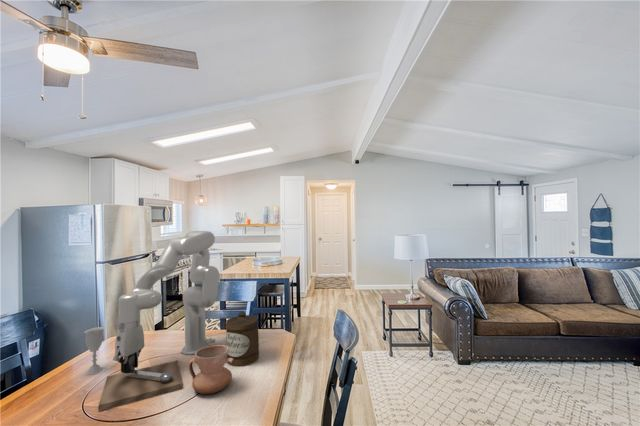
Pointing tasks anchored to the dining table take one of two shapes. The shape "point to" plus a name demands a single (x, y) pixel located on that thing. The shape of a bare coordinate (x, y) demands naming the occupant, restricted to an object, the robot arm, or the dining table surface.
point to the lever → (146, 375)
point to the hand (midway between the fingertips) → (129, 369)
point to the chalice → (94, 346)
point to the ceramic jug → (211, 369)
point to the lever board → (138, 386)
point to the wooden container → (242, 339)
